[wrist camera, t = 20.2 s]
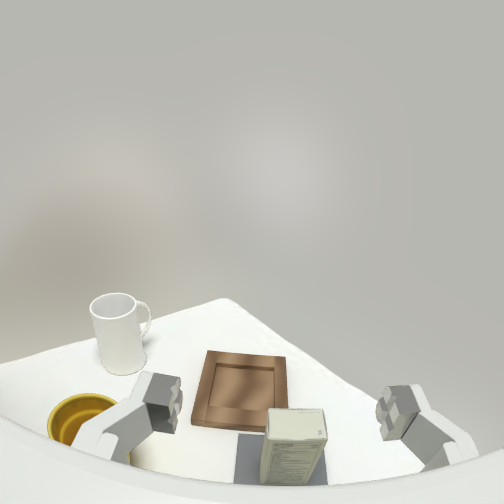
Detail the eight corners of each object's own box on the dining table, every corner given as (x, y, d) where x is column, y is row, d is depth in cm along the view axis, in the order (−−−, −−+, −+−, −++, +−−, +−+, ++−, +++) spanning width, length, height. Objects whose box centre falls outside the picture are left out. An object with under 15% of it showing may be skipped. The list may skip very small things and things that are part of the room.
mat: (231, 506, 28) (231, 505, 28) (238, 435, 39) (238, 433, 39) (328, 507, 28) (329, 506, 28) (321, 438, 39) (322, 436, 39)
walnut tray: (191, 424, 40) (190, 418, 40) (207, 356, 55) (207, 350, 55) (287, 433, 40) (288, 427, 40) (284, 363, 55) (285, 356, 54)
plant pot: (118, 424, 38) (102, 380, 34) (159, 471, 32) (146, 433, 28) (61, 451, 31) (35, 410, 27) (97, 506, 25) (68, 474, 21)
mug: (144, 333, 59) (138, 281, 55) (169, 355, 54) (164, 300, 50) (94, 356, 51) (80, 301, 46) (115, 382, 46) (100, 326, 41)
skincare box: (305, 460, 35) (325, 407, 30) (306, 486, 31) (330, 439, 26) (258, 459, 35) (268, 405, 31) (257, 486, 31) (267, 438, 26)
